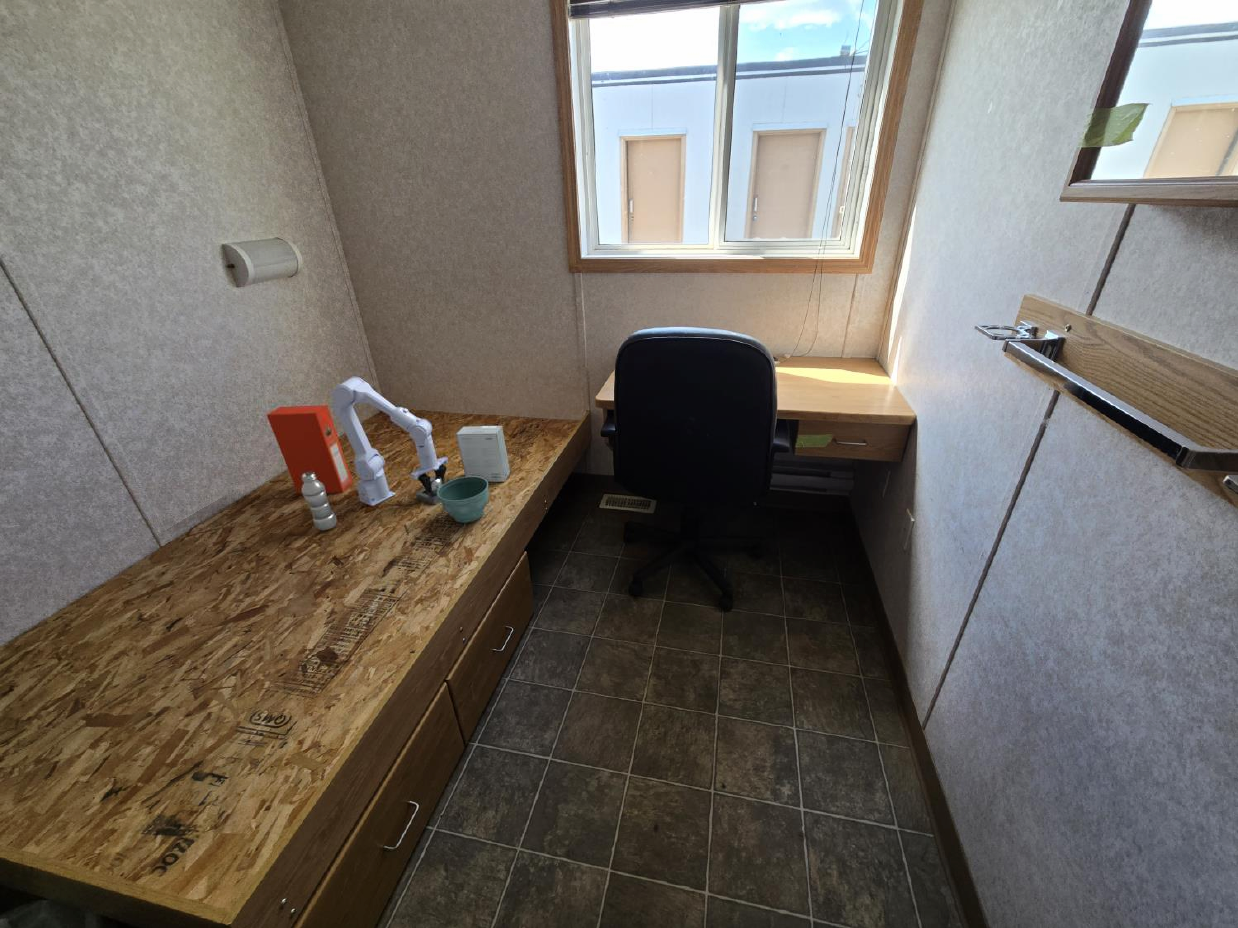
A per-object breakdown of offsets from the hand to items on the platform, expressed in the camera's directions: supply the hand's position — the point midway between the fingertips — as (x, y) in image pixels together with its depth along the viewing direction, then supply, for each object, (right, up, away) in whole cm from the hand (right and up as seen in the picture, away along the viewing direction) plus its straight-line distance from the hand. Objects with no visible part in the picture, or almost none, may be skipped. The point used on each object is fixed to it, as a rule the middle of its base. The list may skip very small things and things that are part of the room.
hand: (435, 488), depth 181 cm
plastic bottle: (-30, -13, -14) cm, 36 cm away
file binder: (-45, -1, +10) cm, 46 cm away
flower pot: (+16, -9, -12) cm, 22 cm away
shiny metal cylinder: (0, -2, +1) cm, 2 cm away
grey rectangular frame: (0, -3, +1) cm, 3 cm away
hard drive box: (+16, +3, +12) cm, 21 cm away
